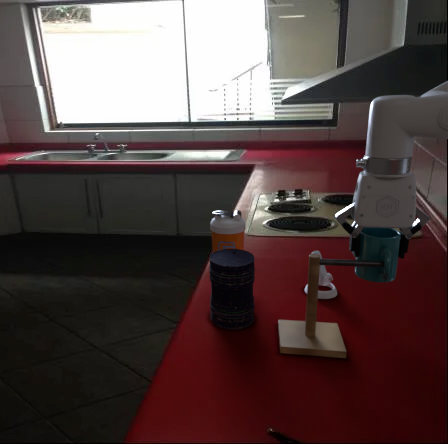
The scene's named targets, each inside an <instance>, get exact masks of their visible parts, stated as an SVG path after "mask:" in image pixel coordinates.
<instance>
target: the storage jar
mask: <svg viewBox="0 0 448 444" xmlns="http://www.w3.org/2000/svg"><path fill="white" fill-rule="evenodd" d="M208 271H209V281H210V288H211V289H210V291H211V294H210V297H209V298H210V302H209V306H210V307H209V308H210V320H211V322H212V323H213V324H214V325H216V326H217V327H220V328H222V329H225V330H241V329H245V328H247V327H249V326H251V325H252V324H253V322H254V319H255V316H254V313H255V295H254V283H255V279H256V277H255V274H256V267H255V255H254V254H253V253H251V252H250V251H247V250H240V249H223V250H218V251H215V252H213V251H212V253H210V254H209V268H208Z"/></svg>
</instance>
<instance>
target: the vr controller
mask: <svg viewBox="0 0 448 444" xmlns="http://www.w3.org/2000/svg"><path fill="white" fill-rule="evenodd" d="M311 254H319V255H320V259H323V257H322V254H321V252H320V251H319V250H314V251H312V252H311ZM333 280H334V277H333V275H332V274H331V273H330V272H327V269H326V265H320V271H319V286H323V287H327V288H330V290H318V299H320V300H330V299H334V298H336V297H337V296H338V290H337V288H336V286H335V284H333V283H332V281H333ZM307 286H308V283H307V284H306V285H305V288H304V292H305V294H306V295H307Z"/></svg>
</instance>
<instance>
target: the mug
mask: <svg viewBox="0 0 448 444" xmlns="http://www.w3.org/2000/svg"><path fill="white" fill-rule="evenodd" d="M401 235H402V234H401V233H400V230H399V229H398V230H397V229H396V228H365V227H364V228H363V230H362V231H361V232H360V234H359V237H360V248H359V256H358V257H355V258H354V260H373V261H385V263H384V267H359V266H354V275H355V276H357V277H358V278H360V279H362V280H363V281H367V282H372V283H380V284H381V283H384V284H385V283H391V282H393V281H395V280H396V279H397V274H398V273H397V272H398V267H399V266H398V265H399V259H400V258H399V250H400V243H401Z"/></svg>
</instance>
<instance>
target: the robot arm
mask: <svg viewBox="0 0 448 444" xmlns="http://www.w3.org/2000/svg"><path fill="white" fill-rule="evenodd" d="M417 137H418V138H427V139H428V138H429V139H436V140H448V80H446V81H445V82H443V83H440V84H439V85H438V86H436V87H434V88H432V89H429V90H428V91H426V92H425V93H423V94H421V95H420V96H415V95H411V94H393V95H380V96H377V97H375V98H373V99H372V101H371V103H370V106H369V113H368V124H367V135H366V145H365V155H364V156H363V158H360V159H356V162H355V167H356V168H361V169H362V170H363V171H360V172H359V174H358V177H357V181H356V184H355V190H354V193H353V198H352V203H351V204H349V205H348V206H346V207H345V208H343V209H341V210H340V211H338V212H337V213H336V214H334V218H335V219H336V221H337V222H338V223H339V224H340V226H341V227H342V228H343V229H344V231H345V232H346V233H348V235H349V244H348V250H349V252H351V253H352V255H353V258H356V257H358V256H359V248H360V237H359V234H360V232H361V231H362V230H363V228H364V227H365V228H393V229H398V231H400V233H401V234H402V235H401V243H400V250H399V258H398V259H402V260H403V259H405V255H406V254H407V253H408V252H409V243H410V240H411V239H413V236H414V235H415V234H417V233H418V232H419V231H421V230H422V229H423V227H425V225H427V224H428V223H429V222H430V221H431V217H430V216H429V215H428V214H426V213H425V212H424V211H422V210H421V209H420V208H419V207H418V206H417V179H416V178H417V177H416V173H413V172H412V171H411V168H412V161H413V153H414V147H415V146H414V145H415V139H416V138H417ZM348 216H351V219H352V220H354V221H353V223H352V224H350V223H349V222H348V221H347V220H346V218H347V217H348ZM416 217H417V219H416Z"/></svg>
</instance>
